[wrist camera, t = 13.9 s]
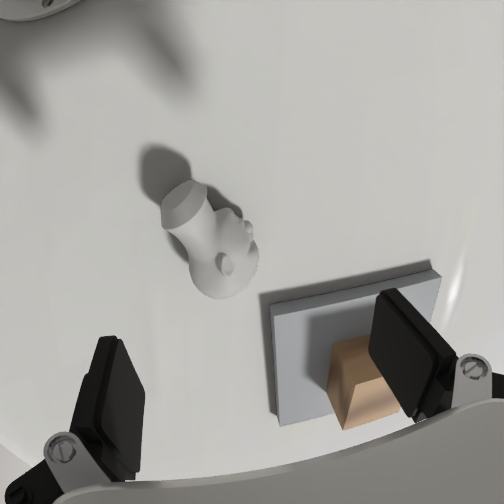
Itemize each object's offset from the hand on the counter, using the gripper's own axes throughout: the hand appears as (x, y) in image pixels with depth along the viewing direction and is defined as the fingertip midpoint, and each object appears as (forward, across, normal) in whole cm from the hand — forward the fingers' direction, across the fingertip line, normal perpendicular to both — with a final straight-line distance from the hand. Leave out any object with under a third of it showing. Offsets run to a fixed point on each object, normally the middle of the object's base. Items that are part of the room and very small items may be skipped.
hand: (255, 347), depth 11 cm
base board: (+12, -11, +15) cm, 22 cm away
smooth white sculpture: (+12, +1, 0) cm, 12 cm away
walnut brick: (+11, -10, +15) cm, 21 cm away
